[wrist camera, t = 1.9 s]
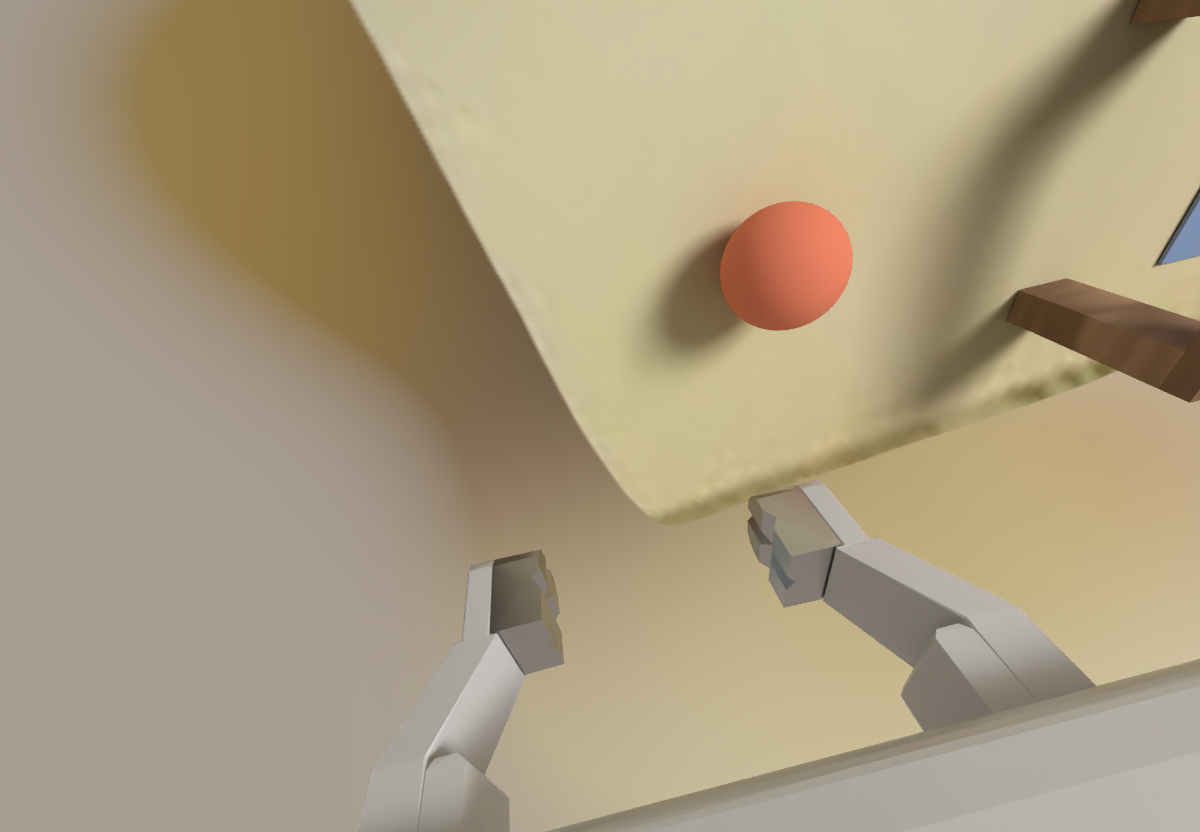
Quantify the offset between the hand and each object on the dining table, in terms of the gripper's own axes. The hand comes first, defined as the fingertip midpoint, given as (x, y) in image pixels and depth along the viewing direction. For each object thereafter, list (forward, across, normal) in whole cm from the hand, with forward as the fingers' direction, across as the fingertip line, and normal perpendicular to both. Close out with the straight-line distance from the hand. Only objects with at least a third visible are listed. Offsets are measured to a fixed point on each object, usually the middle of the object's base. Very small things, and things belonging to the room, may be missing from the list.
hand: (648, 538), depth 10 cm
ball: (+12, -10, 0) cm, 16 cm away
